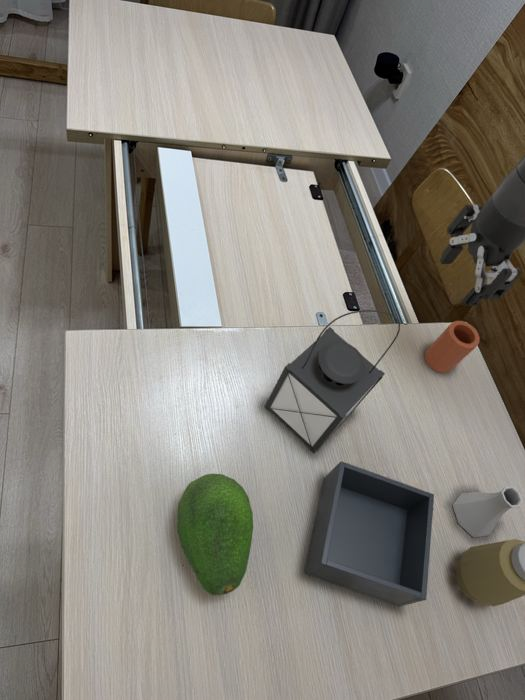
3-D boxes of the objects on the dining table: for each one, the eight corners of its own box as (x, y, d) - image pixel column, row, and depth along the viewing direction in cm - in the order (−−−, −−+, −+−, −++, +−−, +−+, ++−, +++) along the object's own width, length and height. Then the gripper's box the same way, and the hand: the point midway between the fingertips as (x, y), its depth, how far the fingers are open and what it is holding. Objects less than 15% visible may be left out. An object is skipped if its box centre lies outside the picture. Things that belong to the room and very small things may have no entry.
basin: (409, 508, 79) (434, 494, 73) (399, 606, 71) (426, 600, 65) (323, 478, 79) (341, 460, 73) (303, 573, 71) (321, 563, 64)
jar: (453, 353, 99) (479, 327, 92) (452, 377, 96) (479, 352, 88) (425, 343, 99) (450, 316, 91) (423, 366, 95) (448, 341, 88)
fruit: (250, 596, 68) (267, 585, 60) (175, 602, 65) (182, 592, 57) (241, 484, 76) (255, 461, 67) (174, 486, 73) (180, 463, 65)
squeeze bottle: (437, 562, 76) (512, 534, 61) (476, 542, 79) (557, 511, 64) (466, 618, 72) (553, 603, 58) (507, 595, 76) (599, 576, 61)
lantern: (263, 406, 83) (315, 305, 60) (305, 368, 89) (366, 262, 66) (314, 454, 81) (388, 367, 58) (353, 411, 87) (435, 317, 64)
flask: (444, 502, 81) (479, 483, 73) (475, 485, 84) (513, 464, 76) (471, 545, 79) (512, 530, 70) (503, 526, 82) (545, 509, 73)
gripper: (568, 244, 66) (494, 317, 79) (517, 170, 73) (456, 249, 86) (522, 245, 63) (453, 320, 77) (473, 169, 70) (419, 249, 84)
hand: (455, 282), depth 81 cm, fingers open, 8 cm apart
